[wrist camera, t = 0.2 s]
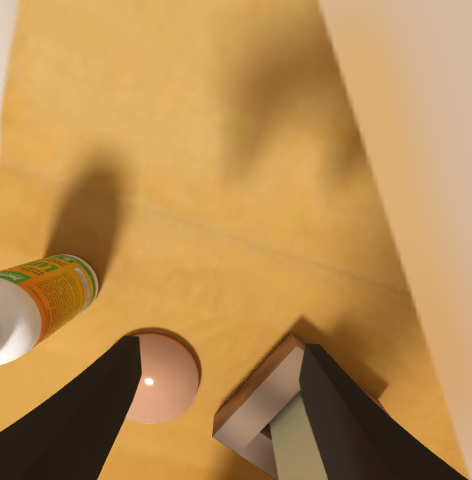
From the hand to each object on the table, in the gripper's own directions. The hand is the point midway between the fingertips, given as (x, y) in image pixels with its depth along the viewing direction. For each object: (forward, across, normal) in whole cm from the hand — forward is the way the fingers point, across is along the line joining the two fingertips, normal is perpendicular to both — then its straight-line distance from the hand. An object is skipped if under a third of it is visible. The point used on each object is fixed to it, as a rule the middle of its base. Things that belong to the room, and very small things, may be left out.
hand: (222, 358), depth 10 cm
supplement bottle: (+11, +14, +3) cm, 18 cm away
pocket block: (+9, -8, +14) cm, 18 cm away
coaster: (+9, +7, +11) cm, 16 cm away
